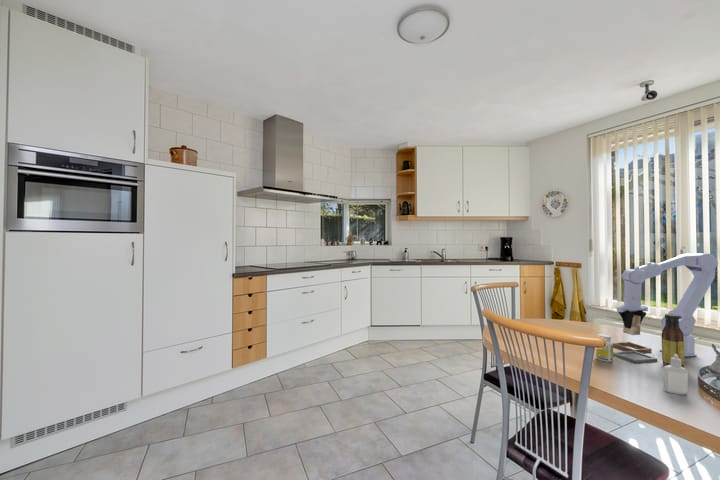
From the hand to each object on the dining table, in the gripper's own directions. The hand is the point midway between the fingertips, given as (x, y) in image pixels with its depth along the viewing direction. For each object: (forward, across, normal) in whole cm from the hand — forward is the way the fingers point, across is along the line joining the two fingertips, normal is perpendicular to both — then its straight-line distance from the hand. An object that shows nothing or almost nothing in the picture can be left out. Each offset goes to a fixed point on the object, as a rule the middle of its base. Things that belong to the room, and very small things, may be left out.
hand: (631, 327), depth 141 cm
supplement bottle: (+10, +22, +7) cm, 25 cm away
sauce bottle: (+10, +2, +17) cm, 20 cm away
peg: (+2, 0, 0) cm, 3 cm away
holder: (+10, -2, -1) cm, 10 cm away
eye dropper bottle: (+10, +26, +34) cm, 44 cm away
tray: (+10, +8, +8) cm, 15 cm away
